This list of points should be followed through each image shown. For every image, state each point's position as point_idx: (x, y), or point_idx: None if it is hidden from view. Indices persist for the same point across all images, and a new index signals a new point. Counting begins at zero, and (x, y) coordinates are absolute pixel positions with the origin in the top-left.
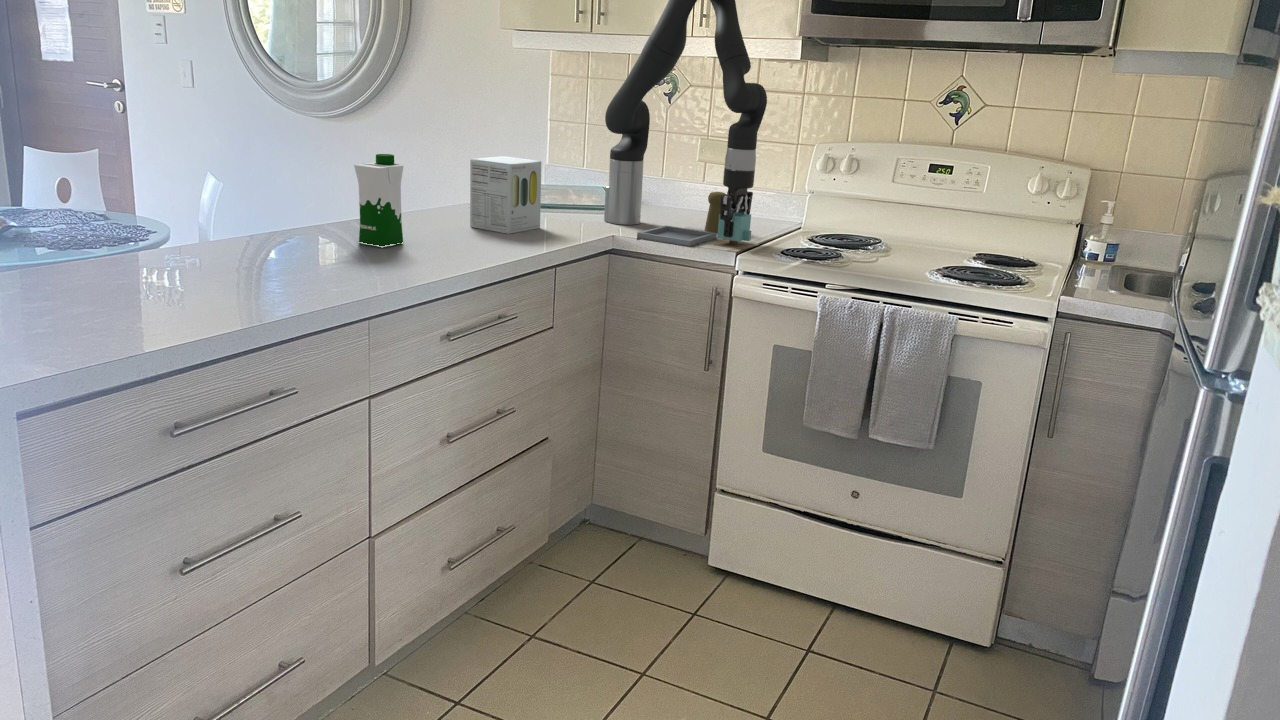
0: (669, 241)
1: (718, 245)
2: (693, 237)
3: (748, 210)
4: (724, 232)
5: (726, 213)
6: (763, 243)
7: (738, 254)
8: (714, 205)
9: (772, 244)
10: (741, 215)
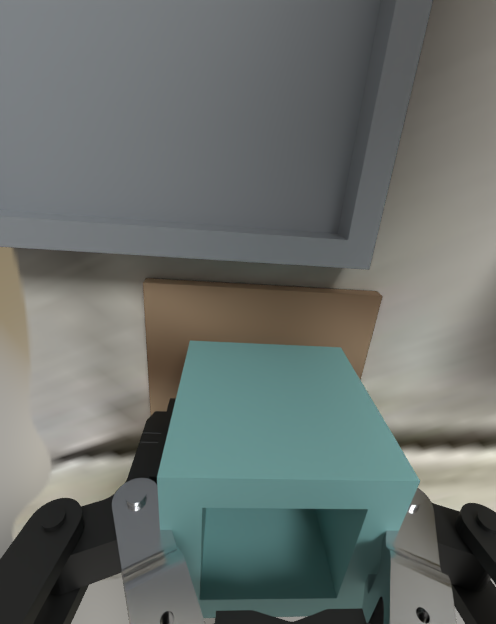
0: None
1: (153, 349)
2: (265, 119)
3: (458, 607)
4: (146, 424)
5: (126, 564)
6: (423, 443)
7: (94, 455)
8: None
9: (420, 472)
10: (339, 559)
